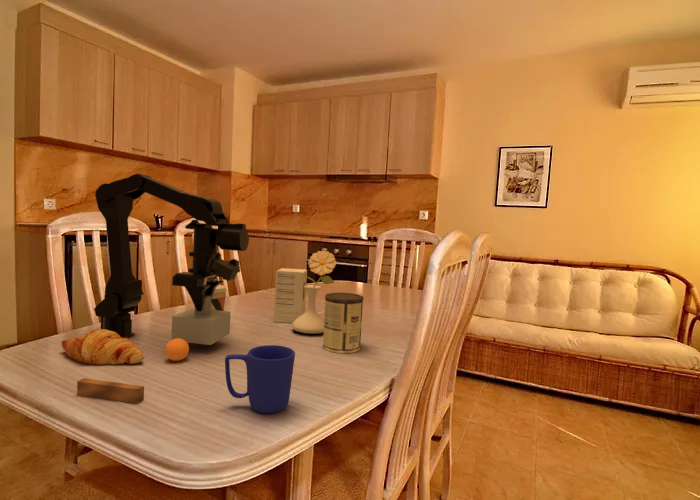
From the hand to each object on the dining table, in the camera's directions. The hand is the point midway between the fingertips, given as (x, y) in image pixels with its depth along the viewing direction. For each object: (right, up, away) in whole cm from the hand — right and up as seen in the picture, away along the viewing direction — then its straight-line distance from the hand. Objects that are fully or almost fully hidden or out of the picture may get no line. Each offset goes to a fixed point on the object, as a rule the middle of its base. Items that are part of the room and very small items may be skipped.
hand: (202, 309), depth 103 cm
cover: (0, -7, 0) cm, 7 cm away
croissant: (-18, -10, -12) cm, 24 cm away
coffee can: (+35, -11, +7) cm, 37 cm away
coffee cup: (-5, -8, +20) cm, 22 cm away
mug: (+21, -13, -30) cm, 39 cm away
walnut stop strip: (-5, -11, -30) cm, 33 cm away
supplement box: (+17, -8, +34) cm, 39 cm away
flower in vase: (+26, -10, +20) cm, 34 cm away
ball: (-2, -8, -10) cm, 13 cm away
